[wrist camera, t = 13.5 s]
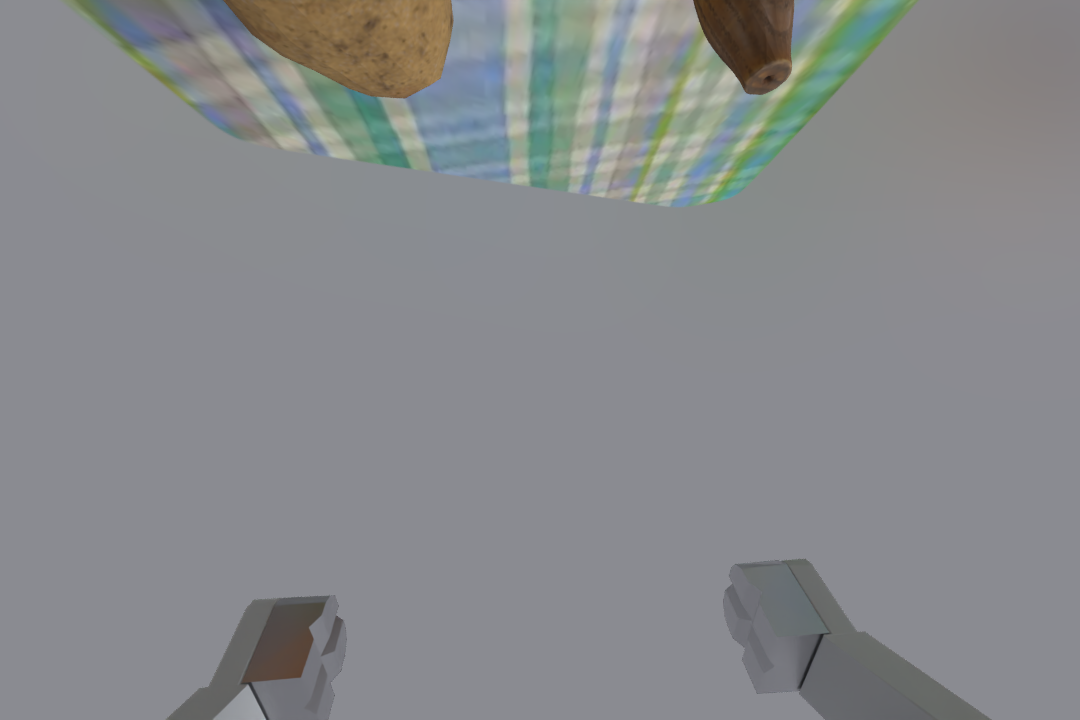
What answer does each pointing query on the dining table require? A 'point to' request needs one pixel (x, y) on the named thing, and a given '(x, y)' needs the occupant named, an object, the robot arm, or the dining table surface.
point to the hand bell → (751, 39)
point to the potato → (357, 39)
